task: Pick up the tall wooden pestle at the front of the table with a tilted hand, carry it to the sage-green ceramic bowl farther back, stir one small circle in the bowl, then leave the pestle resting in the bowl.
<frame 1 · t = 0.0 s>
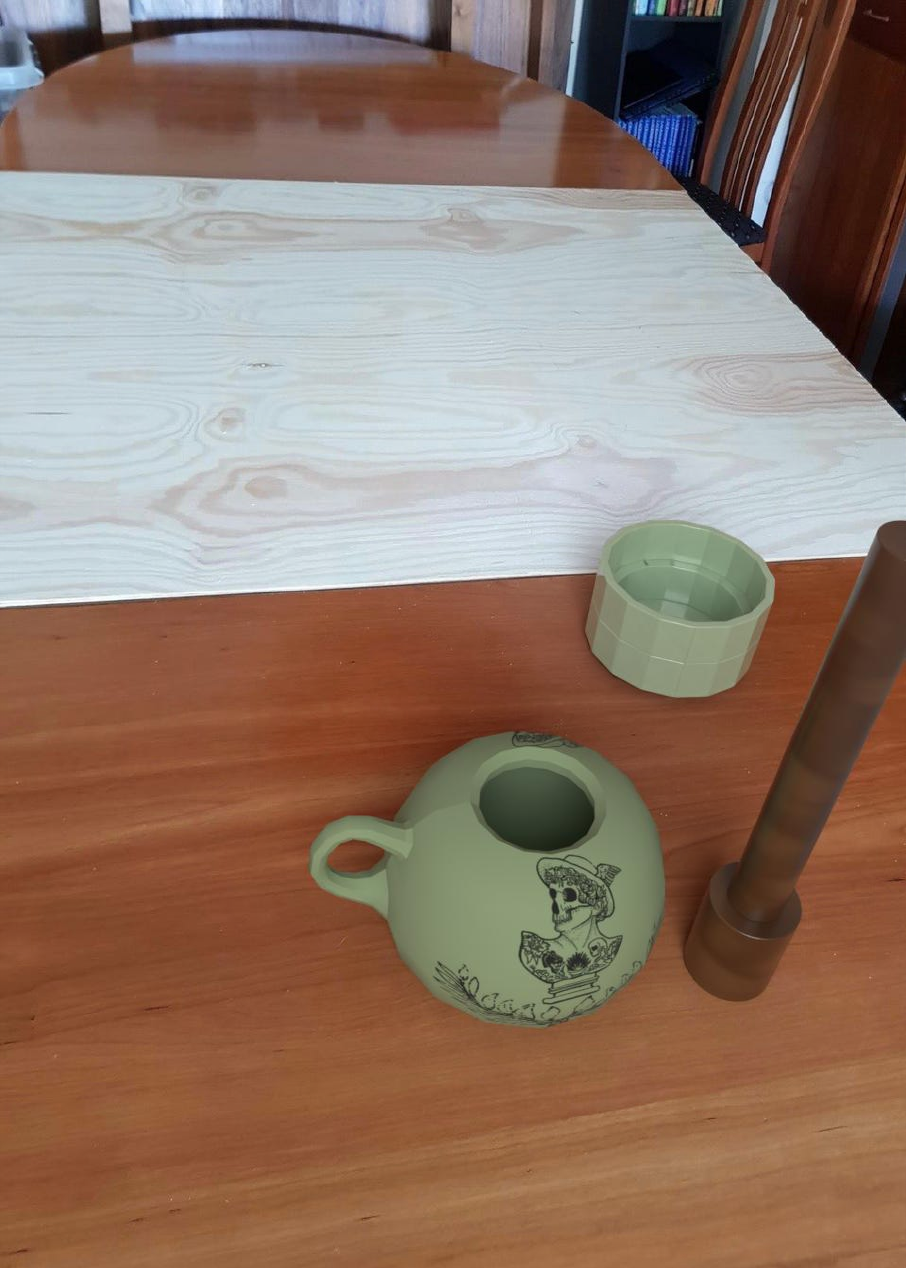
wooden pestle: (726, 962, 49), on the table
bowl: (665, 647, 65), on the table
mug: (481, 922, 50), on the table
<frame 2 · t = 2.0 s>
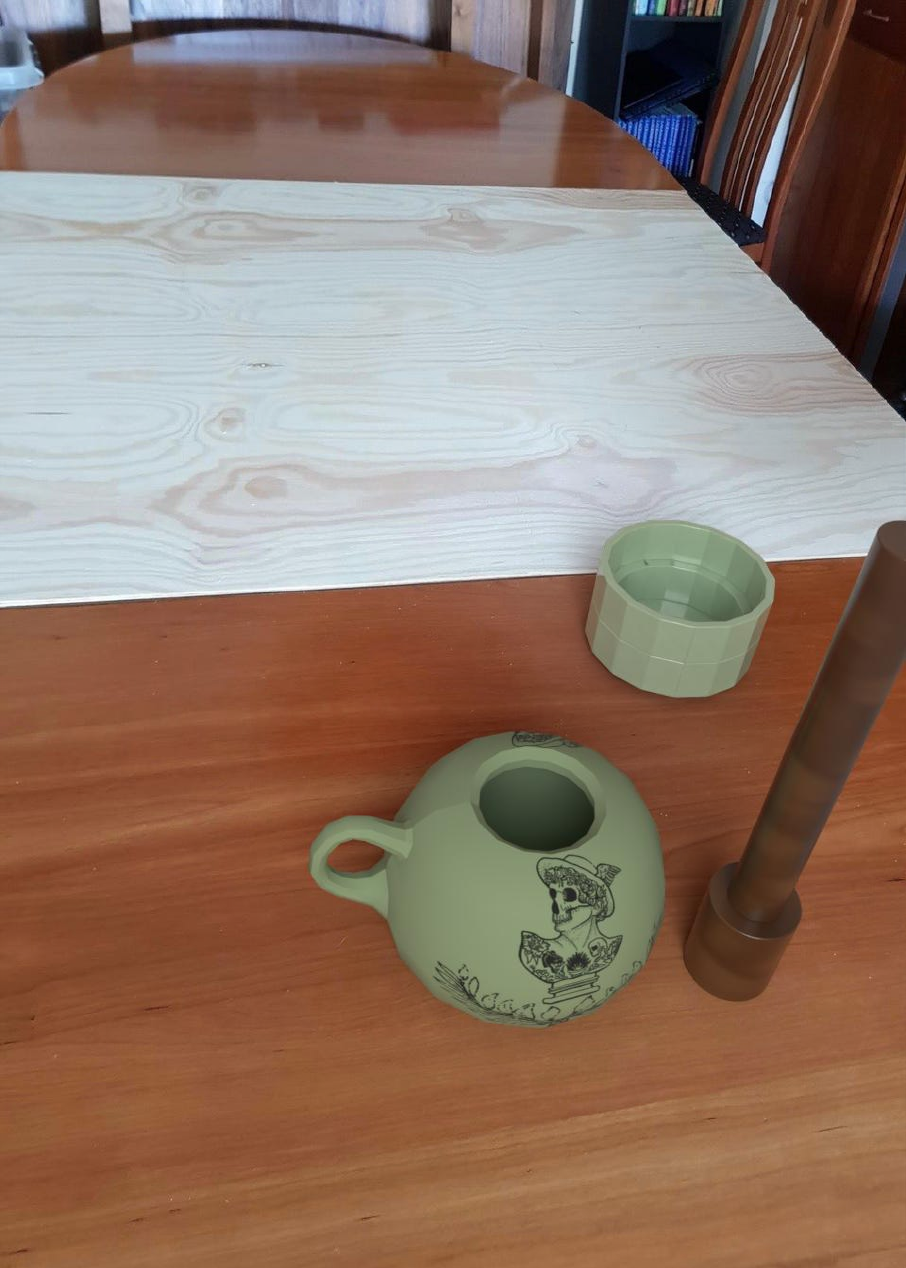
nothing on the table moved.
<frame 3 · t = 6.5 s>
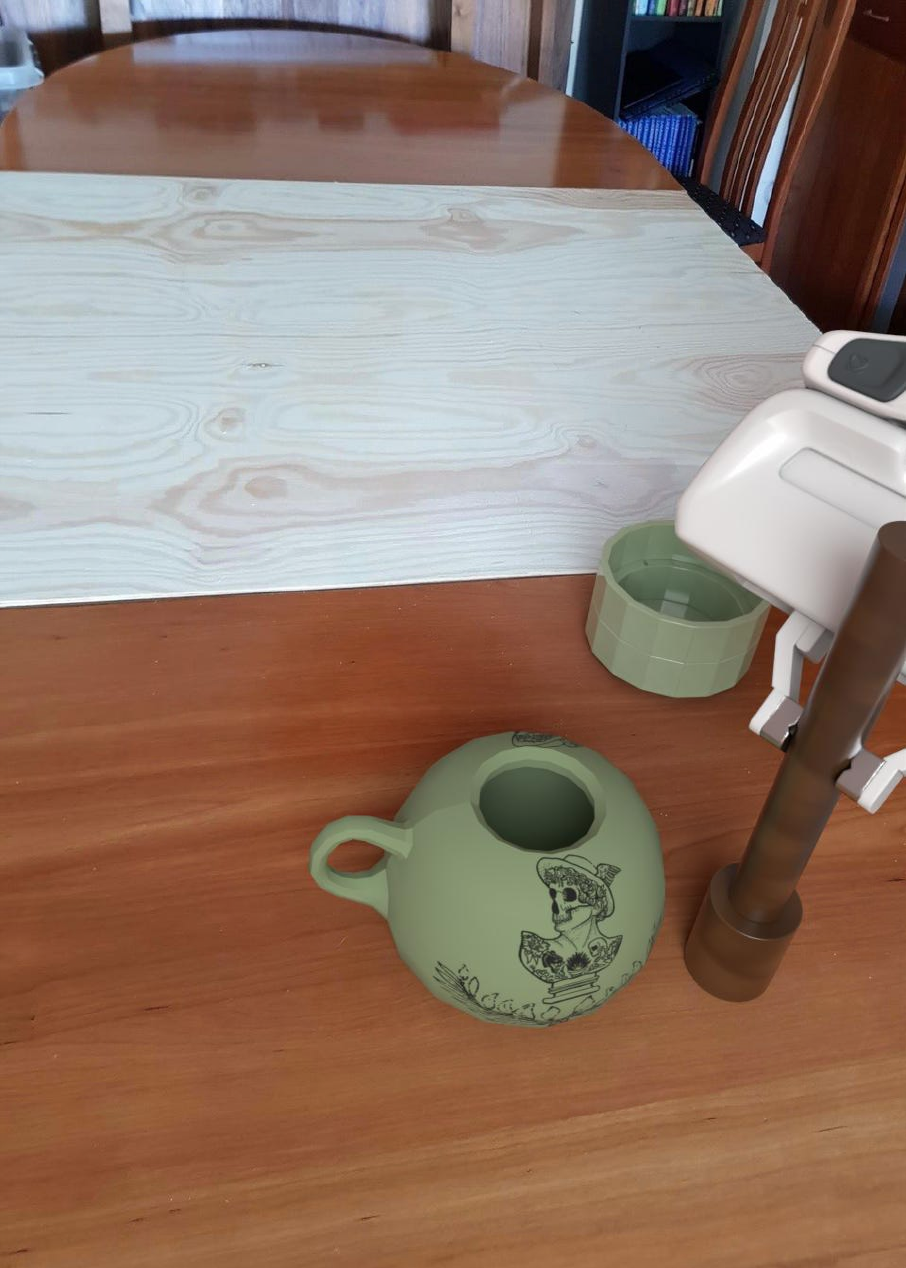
hand: (808, 770, 39), 14 cm above the table, tool tilted 45°, fingers closed on wooden pestle, 2 cm apart
wooden pestle: (727, 962, 49), on the table, touching gripper
everything else where it was.
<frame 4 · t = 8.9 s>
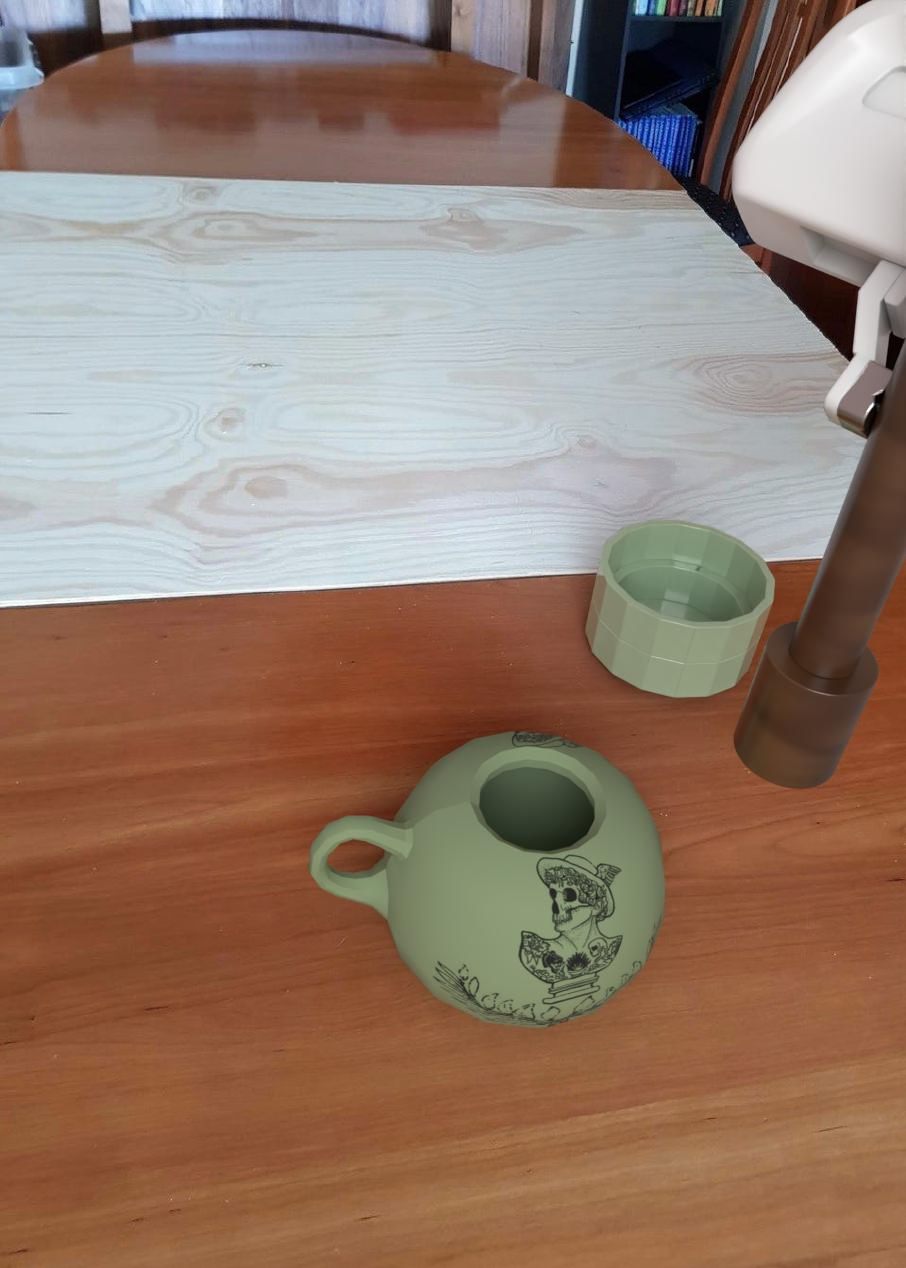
hand: (897, 450, 32), 27 cm above the table, tool tilted 45°, fingers closed on wooden pestle, 2 cm apart
wooden pestle: (784, 750, 41), point 13 cm above the table, touching gripper
everything else where it was.
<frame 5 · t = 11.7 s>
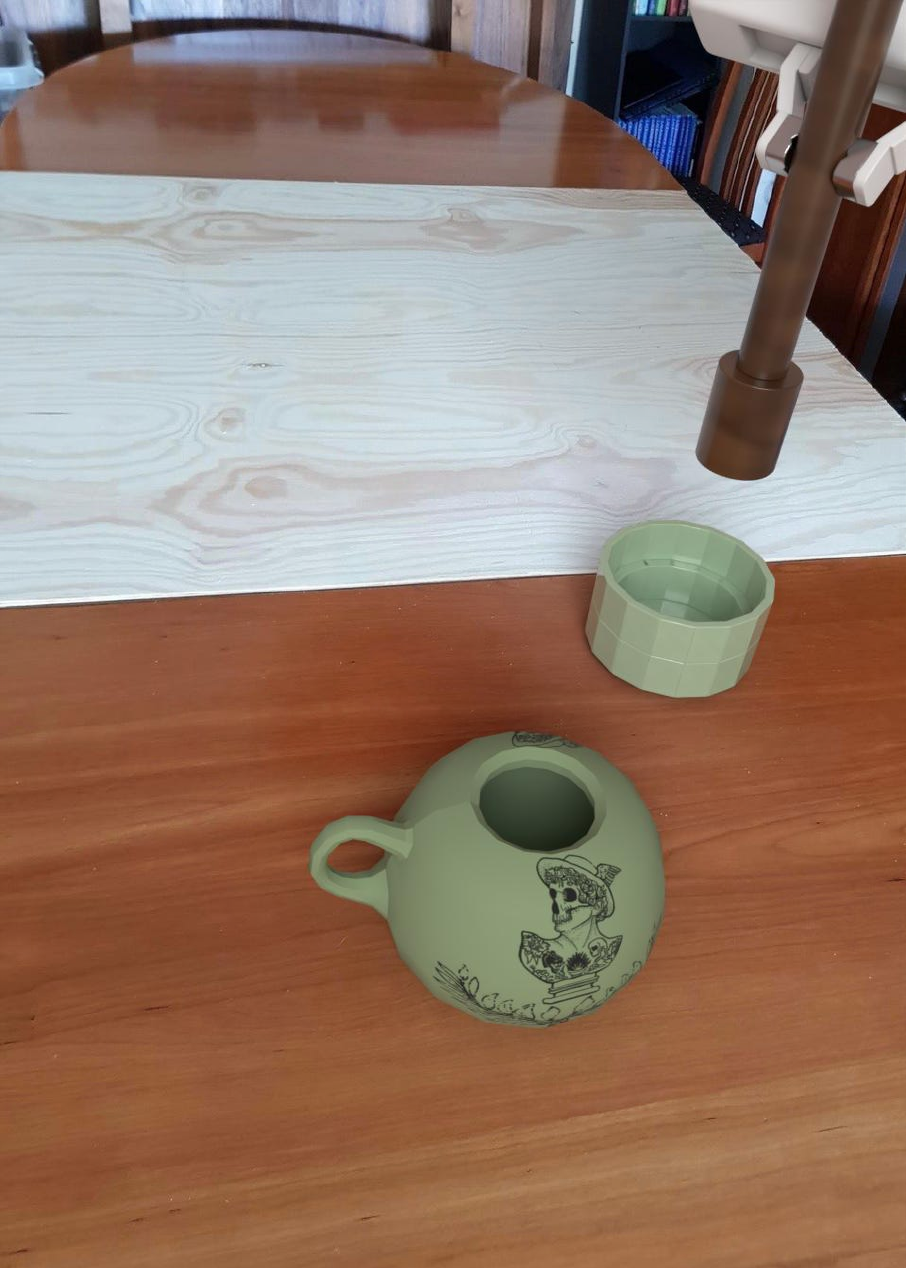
hand: (809, 178, 44), 29 cm above the table, tool tilted 45°, fingers closed on wooden pestle, 2 cm apart
wooden pestle: (734, 459, 53), point 15 cm above the table, touching gripper
everything else where it was.
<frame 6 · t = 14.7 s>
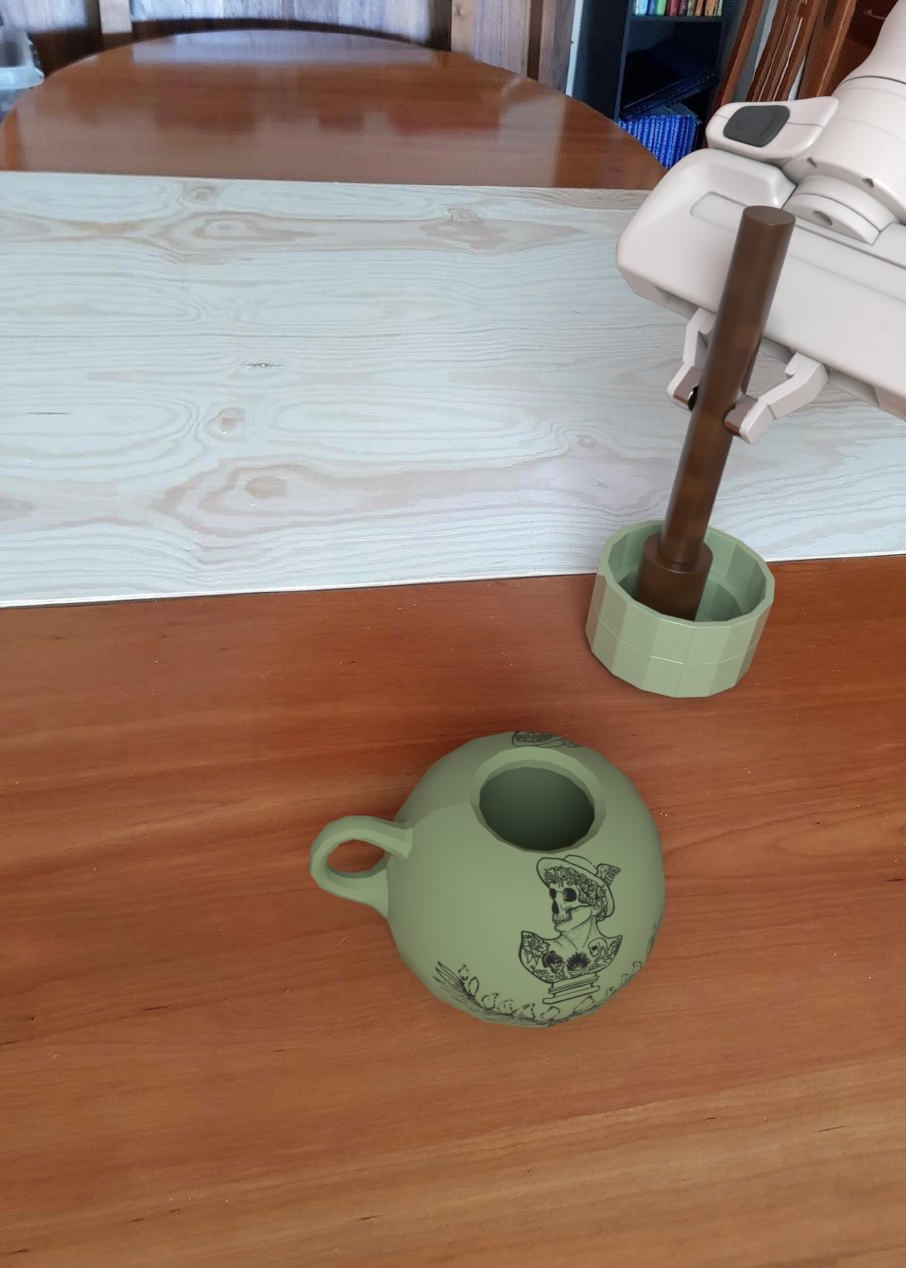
hand: (707, 419, 54), 16 cm above the table, tool tilted 45°, fingers closed on wooden pestle, 2 cm apart
wooden pestle: (660, 617, 64), point 2 cm above the table, touching gripper
everything else where it was.
when the fingers open (14 cm above the table, at t = 17.0 s): wooden pestle stays where it is, resting on bowl.
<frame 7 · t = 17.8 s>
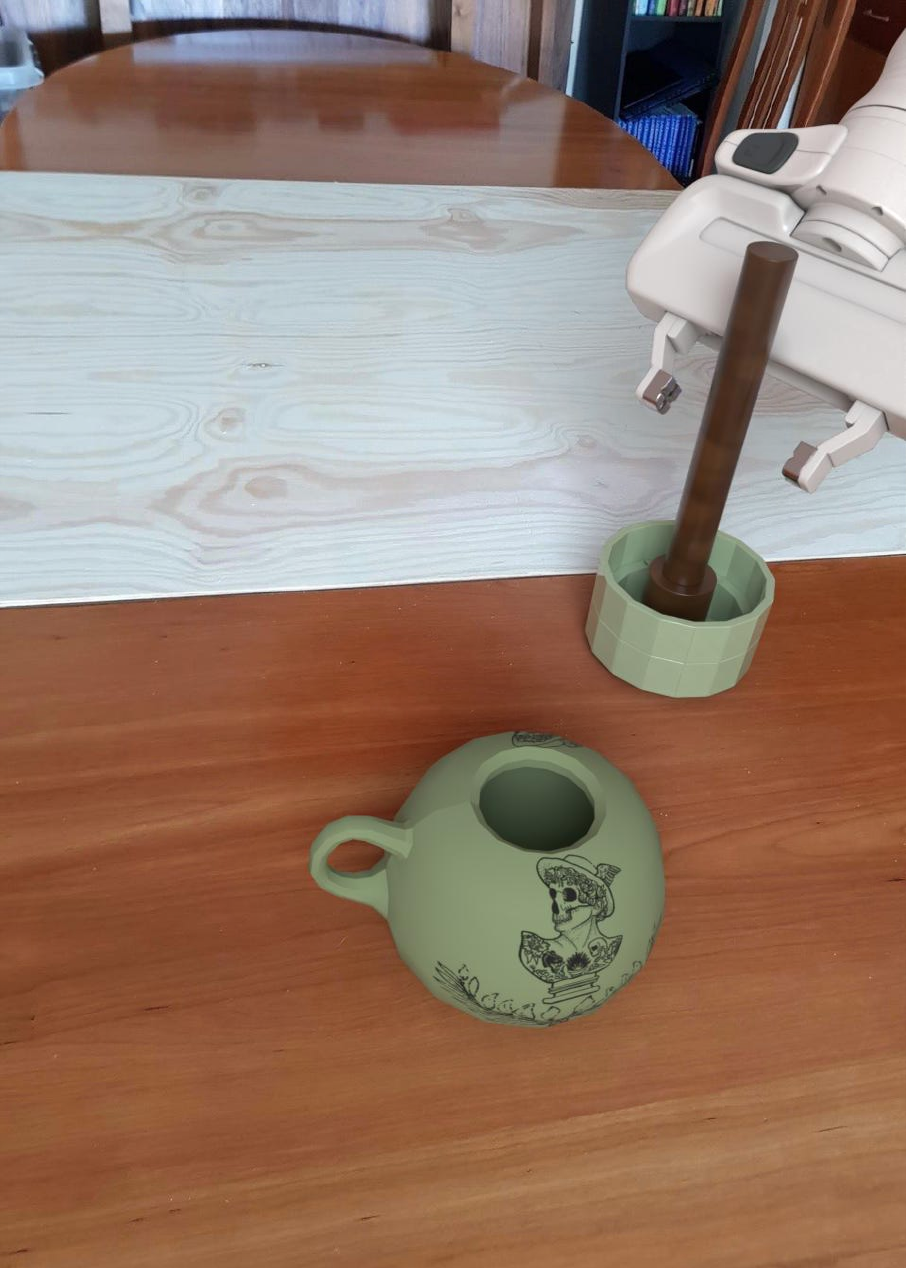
hand: (718, 442, 55), 15 cm above the table, tool tilted 45°, fingers open, 8 cm apart
wooden pestle: (665, 637, 65), point 1 cm above the table, touching bowl
everything else where it was.
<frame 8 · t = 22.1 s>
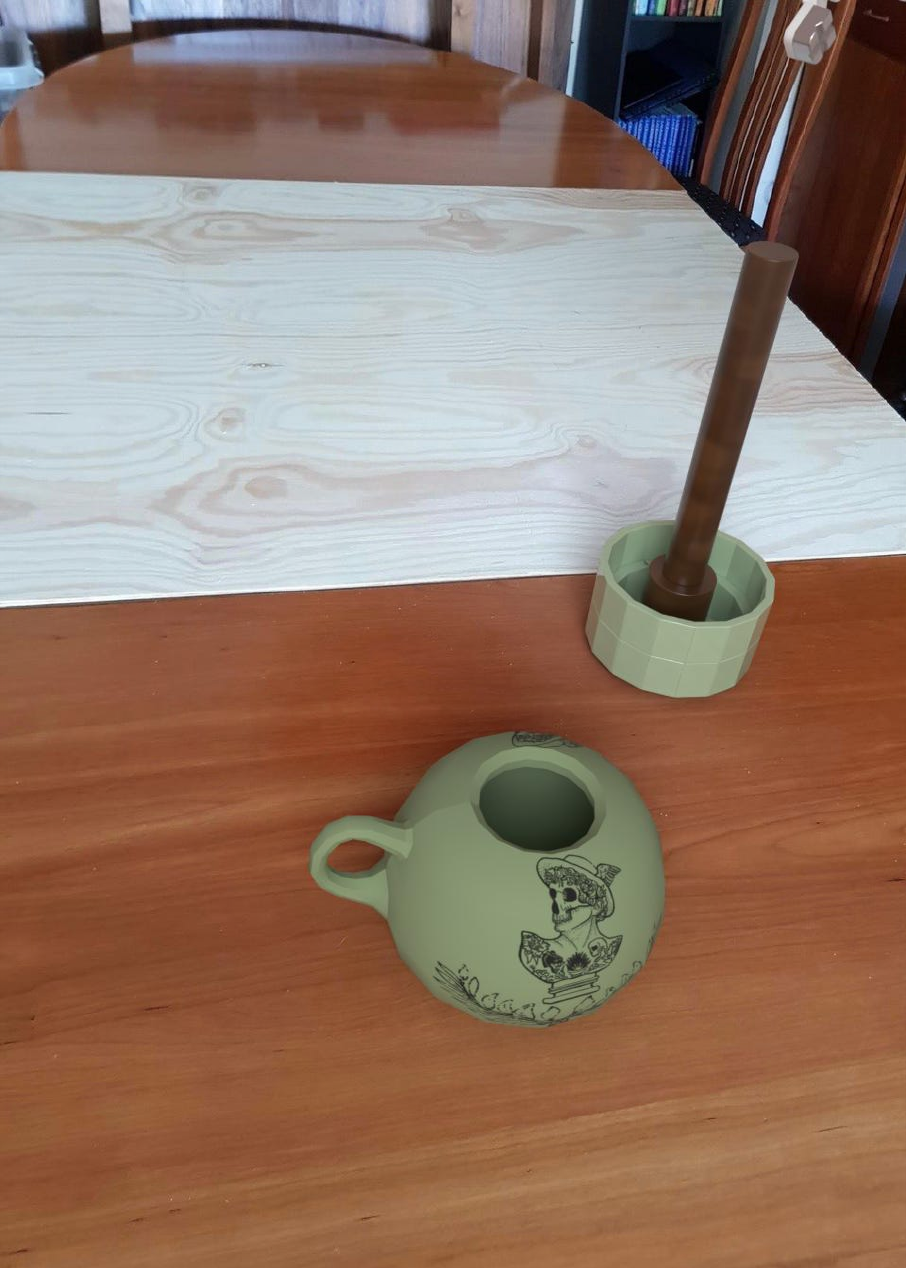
hand: (887, 78, 47), 31 cm above the table, tool tilted 45°, fingers open, 8 cm apart
nothing on the table moved.
at the end: wooden pestle inside the target area in the bowl (0.2 cm from its centre), point 0.6 cm above the bowl's base; the gripper is holding nothing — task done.
